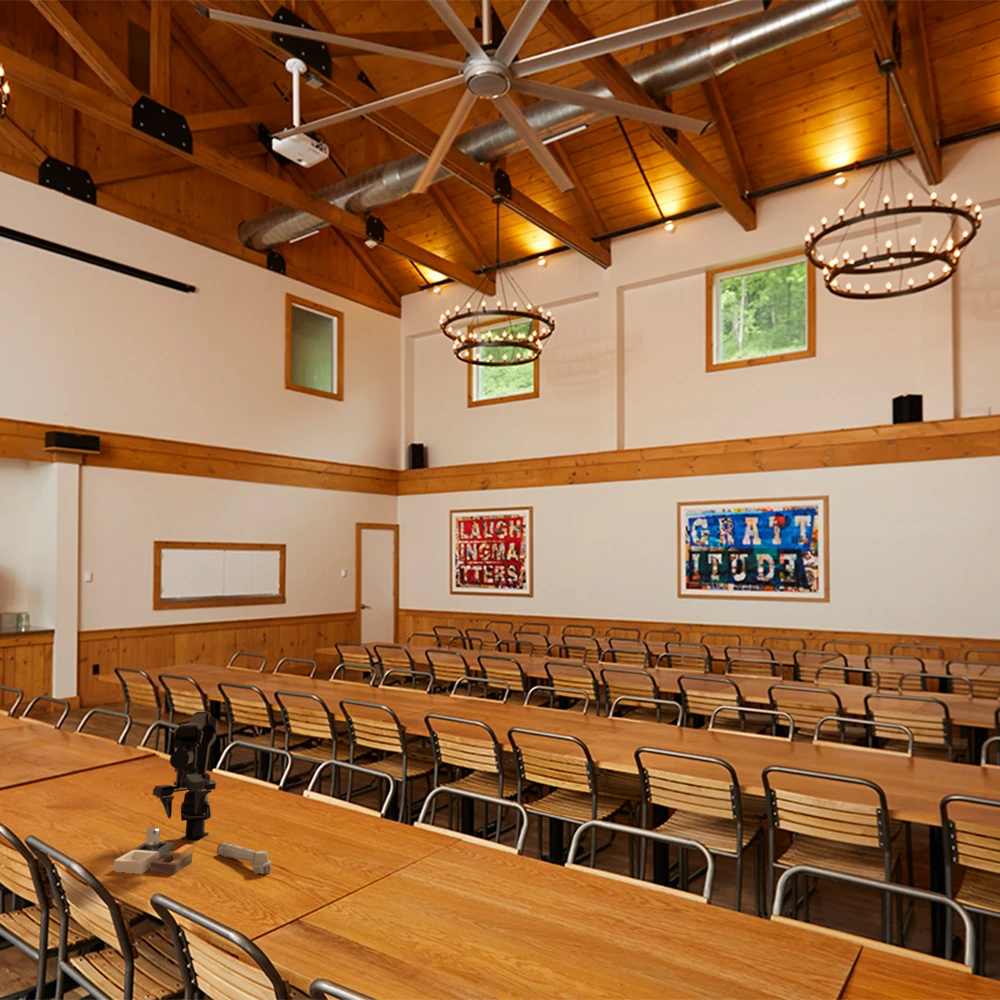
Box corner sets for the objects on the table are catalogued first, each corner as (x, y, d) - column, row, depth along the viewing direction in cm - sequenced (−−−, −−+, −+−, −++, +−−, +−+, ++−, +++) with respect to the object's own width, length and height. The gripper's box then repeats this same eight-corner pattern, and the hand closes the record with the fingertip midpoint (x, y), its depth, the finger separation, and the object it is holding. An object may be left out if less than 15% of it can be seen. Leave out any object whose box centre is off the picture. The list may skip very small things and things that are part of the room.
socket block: (148, 848, 253) (148, 840, 254) (173, 850, 252) (173, 842, 252) (130, 858, 245) (130, 850, 245) (156, 861, 243) (156, 852, 243)
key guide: (168, 861, 243) (168, 851, 243) (191, 863, 241) (192, 853, 241) (150, 872, 234) (150, 862, 234) (174, 875, 232) (174, 864, 232)
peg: (150, 851, 250) (151, 826, 251) (161, 852, 250) (162, 827, 250) (142, 856, 247) (143, 830, 247) (153, 857, 246) (155, 831, 246)
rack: (133, 861, 243) (133, 849, 243) (158, 863, 241) (159, 851, 241) (113, 872, 234) (114, 860, 234) (140, 874, 232) (140, 862, 233)
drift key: (185, 855, 247) (186, 844, 247) (192, 856, 247) (193, 844, 247) (172, 863, 240) (173, 852, 240) (179, 864, 240) (180, 852, 240)
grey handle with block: (229, 839, 252) (274, 847, 236) (230, 861, 251) (275, 870, 235) (214, 844, 248) (259, 852, 232) (215, 866, 247) (260, 875, 231)
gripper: (171, 770, 238) (167, 824, 235) (226, 763, 253) (223, 814, 249) (153, 767, 245) (149, 819, 242) (208, 761, 259) (205, 810, 256)
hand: (183, 816), depth 247 cm, fingers open, 9 cm apart
